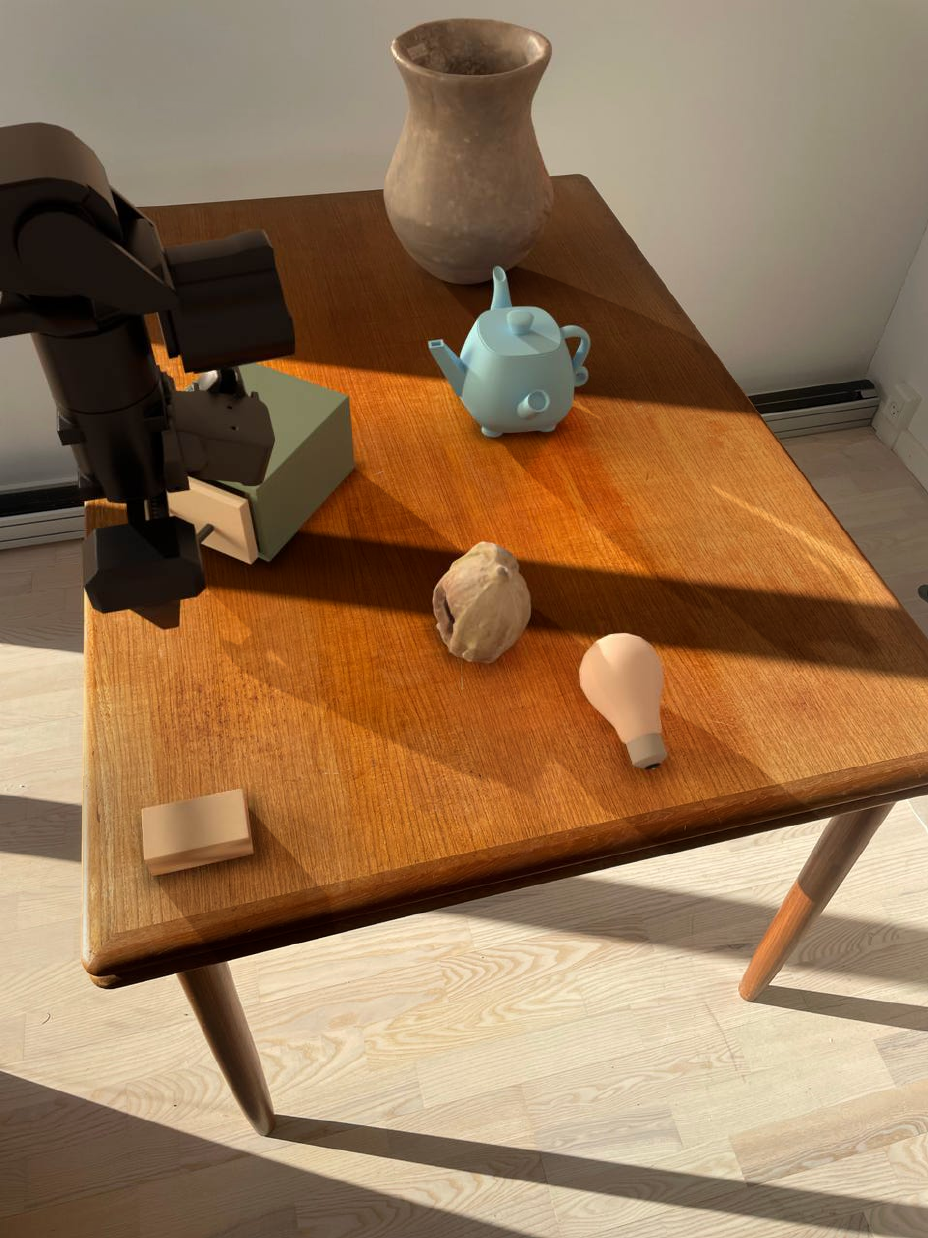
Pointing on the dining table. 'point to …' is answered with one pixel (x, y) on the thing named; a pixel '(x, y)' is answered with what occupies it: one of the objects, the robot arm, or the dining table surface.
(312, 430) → the cabinet
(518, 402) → the teapot
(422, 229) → the vase
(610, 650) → the light bulb
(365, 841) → the dining table surface
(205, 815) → the beige rectangular block
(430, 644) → the dining table surface
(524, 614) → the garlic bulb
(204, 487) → the drawer
